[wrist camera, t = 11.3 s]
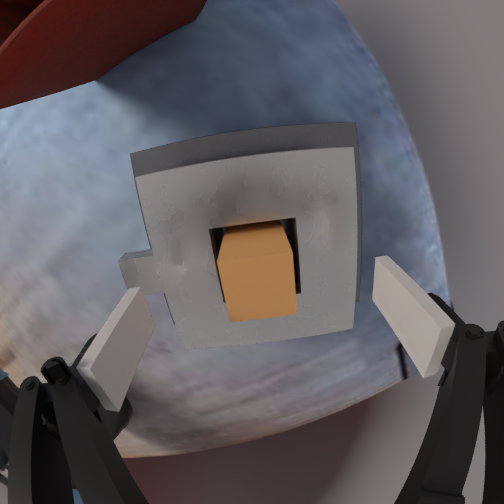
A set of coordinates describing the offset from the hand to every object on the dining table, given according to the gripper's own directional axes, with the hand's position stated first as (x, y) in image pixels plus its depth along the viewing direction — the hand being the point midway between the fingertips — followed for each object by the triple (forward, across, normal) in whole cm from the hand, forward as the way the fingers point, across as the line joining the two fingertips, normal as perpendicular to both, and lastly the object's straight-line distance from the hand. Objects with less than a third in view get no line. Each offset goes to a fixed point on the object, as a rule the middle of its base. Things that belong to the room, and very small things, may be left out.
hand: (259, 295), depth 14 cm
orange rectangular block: (+11, 0, 0) cm, 11 cm away
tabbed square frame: (+13, 0, 0) cm, 13 cm away
